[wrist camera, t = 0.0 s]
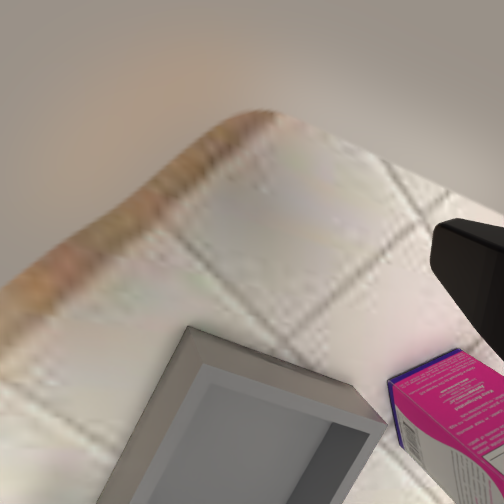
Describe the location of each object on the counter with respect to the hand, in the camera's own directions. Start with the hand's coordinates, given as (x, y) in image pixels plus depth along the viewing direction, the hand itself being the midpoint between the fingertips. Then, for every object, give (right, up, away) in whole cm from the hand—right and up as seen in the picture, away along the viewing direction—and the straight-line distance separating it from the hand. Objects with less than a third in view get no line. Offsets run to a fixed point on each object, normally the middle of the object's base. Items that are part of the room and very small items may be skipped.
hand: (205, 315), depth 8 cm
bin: (0, -10, +20) cm, 22 cm away
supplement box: (+13, -9, +24) cm, 28 cm away
